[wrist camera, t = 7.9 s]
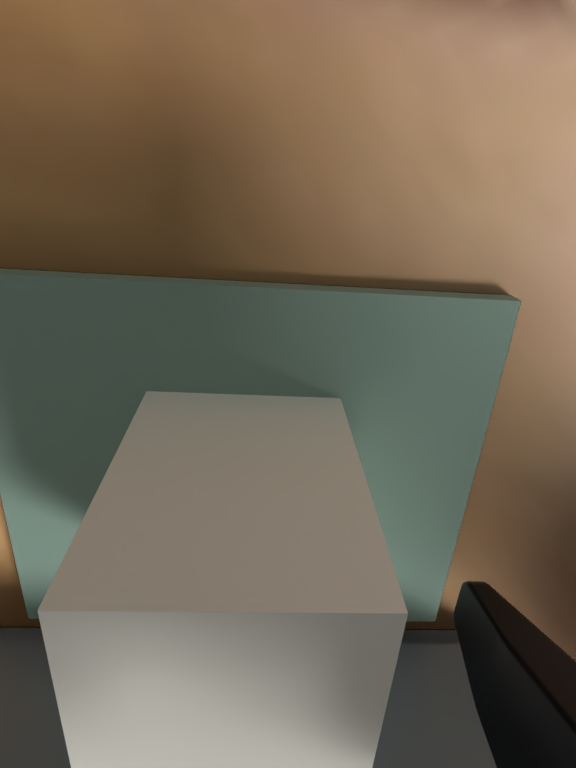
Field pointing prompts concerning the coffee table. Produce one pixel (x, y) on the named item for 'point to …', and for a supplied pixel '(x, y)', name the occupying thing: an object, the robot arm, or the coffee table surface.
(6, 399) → the board
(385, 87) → the coffee table surface
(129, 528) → the block
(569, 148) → the coffee table surface
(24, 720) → the slot box
